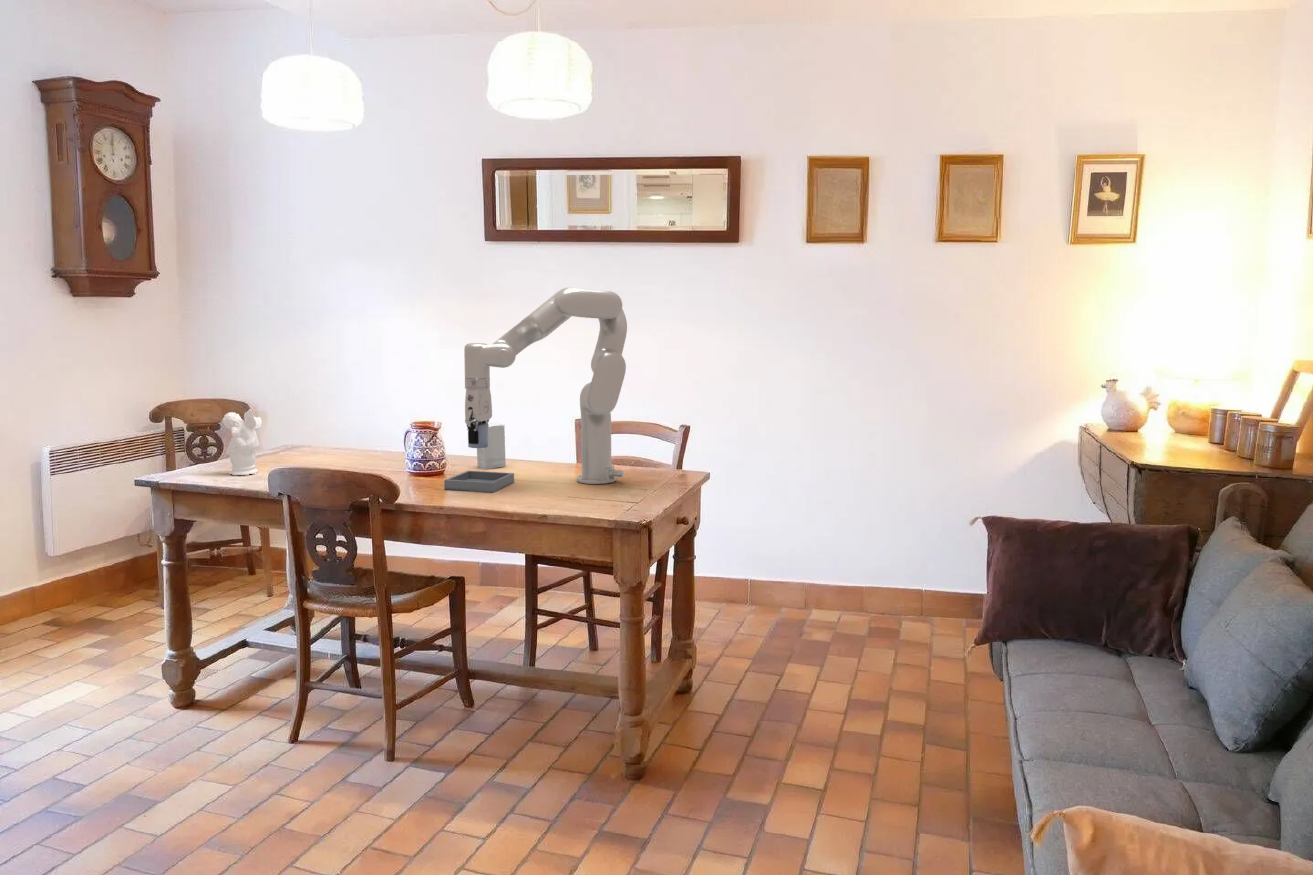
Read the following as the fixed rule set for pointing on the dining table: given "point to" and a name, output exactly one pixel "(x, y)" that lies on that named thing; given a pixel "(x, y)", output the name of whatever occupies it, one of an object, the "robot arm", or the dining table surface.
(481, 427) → the cup
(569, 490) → the dining table surface
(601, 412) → the robot arm
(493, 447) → the skincare box
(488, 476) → the tray
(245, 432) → the cherub figurine
